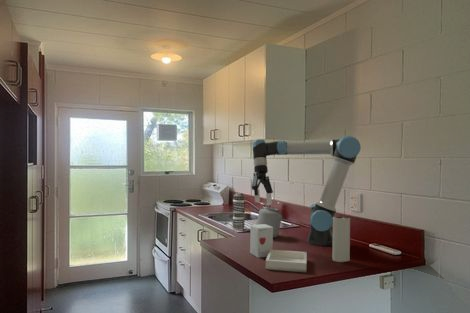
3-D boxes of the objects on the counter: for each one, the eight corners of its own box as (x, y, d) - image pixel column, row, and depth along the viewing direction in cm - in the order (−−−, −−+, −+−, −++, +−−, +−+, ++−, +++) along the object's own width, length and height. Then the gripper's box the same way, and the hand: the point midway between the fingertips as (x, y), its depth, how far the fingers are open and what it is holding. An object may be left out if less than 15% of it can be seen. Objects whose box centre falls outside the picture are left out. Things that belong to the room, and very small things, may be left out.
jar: (279, 233, 225) (279, 195, 225) (288, 238, 211) (288, 198, 211) (252, 234, 220) (252, 196, 220) (259, 240, 206) (260, 199, 206)
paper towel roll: (330, 260, 166) (330, 217, 166) (336, 258, 171) (336, 215, 171) (343, 263, 161) (344, 219, 161) (349, 261, 165) (350, 217, 165)
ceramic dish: (306, 260, 166) (306, 252, 166) (306, 272, 149) (306, 263, 149) (270, 257, 170) (270, 249, 170) (265, 269, 153) (265, 260, 153)
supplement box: (257, 258, 169) (257, 228, 169) (249, 253, 177) (249, 224, 177) (273, 256, 173) (273, 226, 173) (264, 251, 181) (265, 223, 181)
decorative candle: (229, 228, 237) (229, 193, 237) (239, 226, 243) (239, 192, 243) (237, 230, 230) (238, 194, 230) (247, 229, 236) (248, 193, 236)
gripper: (265, 171, 205) (268, 206, 198) (243, 162, 185) (246, 201, 178) (276, 169, 201) (279, 204, 194) (255, 160, 181) (258, 199, 174)
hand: (263, 203), depth 186 cm, fingers open, 13 cm apart
